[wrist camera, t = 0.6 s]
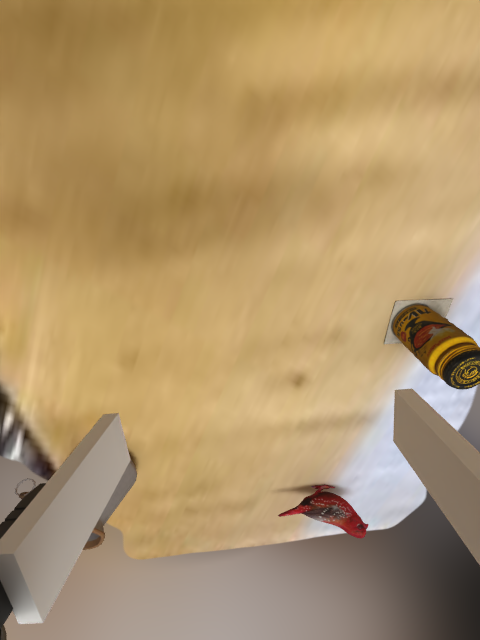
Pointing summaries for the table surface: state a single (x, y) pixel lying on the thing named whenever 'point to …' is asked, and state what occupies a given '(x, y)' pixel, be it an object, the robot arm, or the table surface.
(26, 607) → the robot arm
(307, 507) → the decorative bird figurine
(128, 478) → the coffee pot
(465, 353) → the condiment
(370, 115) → the table surface
